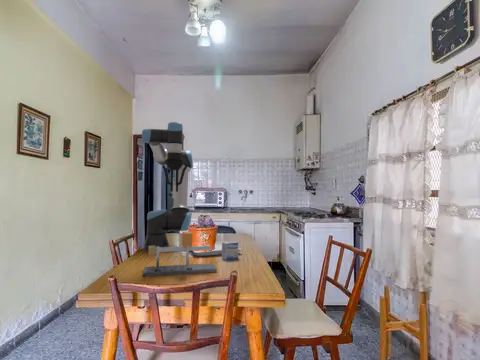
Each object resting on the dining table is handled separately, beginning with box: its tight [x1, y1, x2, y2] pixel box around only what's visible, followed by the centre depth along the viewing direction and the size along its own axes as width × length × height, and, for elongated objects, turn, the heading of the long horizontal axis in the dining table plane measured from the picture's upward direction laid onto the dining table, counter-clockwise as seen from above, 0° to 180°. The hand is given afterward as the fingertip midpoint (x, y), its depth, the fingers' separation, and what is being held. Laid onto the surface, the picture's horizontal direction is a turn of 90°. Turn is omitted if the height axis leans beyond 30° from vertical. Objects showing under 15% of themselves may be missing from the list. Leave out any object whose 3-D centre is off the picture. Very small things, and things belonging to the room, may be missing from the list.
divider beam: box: [147, 245, 211, 269], centre depth 144 cm, size 6×28×10 cm, turn 105°
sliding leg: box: [181, 231, 193, 267], centre depth 145 cm, size 6×4×15 cm
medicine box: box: [221, 241, 239, 261], centre depth 170 cm, size 8×4×9 cm, turn 123°
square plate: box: [192, 240, 242, 257], centre depth 188 cm, size 27×27×4 cm
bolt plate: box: [142, 262, 218, 277], centre depth 145 cm, size 10×32×2 cm, turn 105°
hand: (174, 198), depth 164 cm, fingers closed
